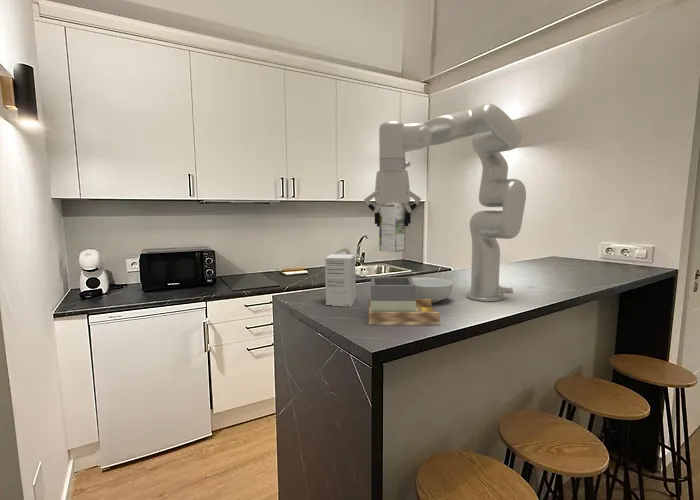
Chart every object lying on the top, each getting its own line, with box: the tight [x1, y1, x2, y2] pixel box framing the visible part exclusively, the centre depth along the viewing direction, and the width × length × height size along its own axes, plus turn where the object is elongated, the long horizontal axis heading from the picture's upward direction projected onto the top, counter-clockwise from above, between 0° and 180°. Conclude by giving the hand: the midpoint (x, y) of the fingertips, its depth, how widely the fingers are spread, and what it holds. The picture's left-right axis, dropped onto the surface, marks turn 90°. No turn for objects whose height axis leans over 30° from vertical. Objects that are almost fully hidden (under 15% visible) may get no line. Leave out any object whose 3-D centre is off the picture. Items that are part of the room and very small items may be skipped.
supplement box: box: [324, 253, 357, 308], centre depth 127 cm, size 10×9×17 cm
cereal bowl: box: [411, 277, 453, 304], centre depth 130 cm, size 17×17×7 cm
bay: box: [368, 298, 441, 326], centre depth 111 cm, size 20×16×4 cm
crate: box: [370, 276, 416, 312], centre depth 111 cm, size 13×13×10 cm
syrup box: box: [378, 202, 406, 253], centre depth 108 cm, size 6×6×14 cm
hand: (392, 226), depth 108 cm, fingers closed on syrup box, 8 cm apart
